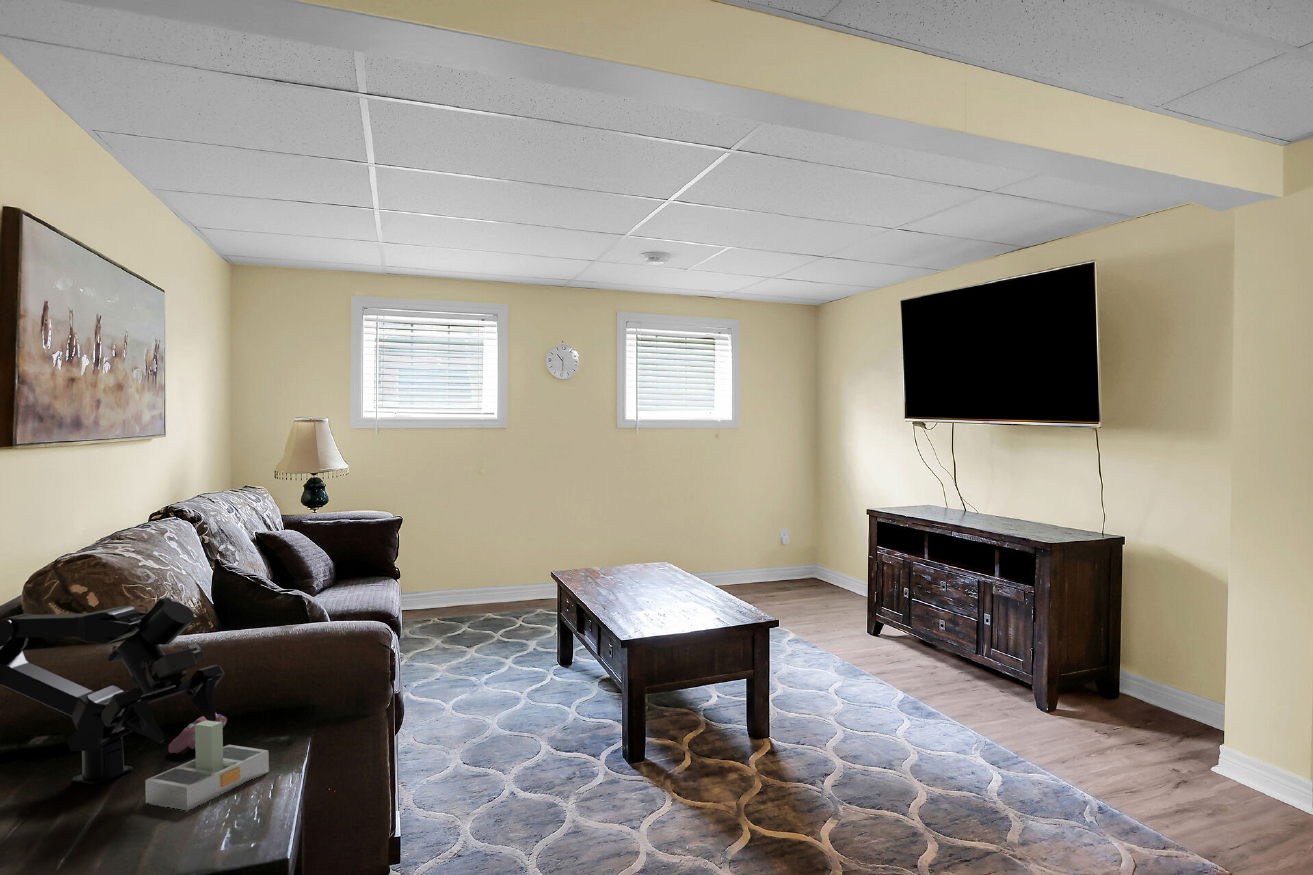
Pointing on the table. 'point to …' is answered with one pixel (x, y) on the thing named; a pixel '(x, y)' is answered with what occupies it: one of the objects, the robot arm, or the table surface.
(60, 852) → the table surface
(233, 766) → the rack
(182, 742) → the video game controller
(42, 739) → the table surface
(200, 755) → the pale green rectangular block
